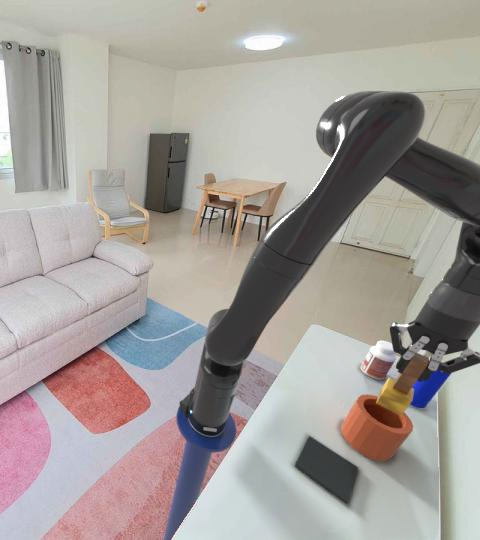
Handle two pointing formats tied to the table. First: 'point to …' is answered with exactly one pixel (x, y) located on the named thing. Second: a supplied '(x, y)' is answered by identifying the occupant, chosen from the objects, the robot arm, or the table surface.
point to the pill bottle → (379, 360)
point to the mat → (327, 468)
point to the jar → (375, 428)
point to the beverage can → (428, 388)
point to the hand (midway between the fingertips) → (409, 375)
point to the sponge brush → (402, 386)
